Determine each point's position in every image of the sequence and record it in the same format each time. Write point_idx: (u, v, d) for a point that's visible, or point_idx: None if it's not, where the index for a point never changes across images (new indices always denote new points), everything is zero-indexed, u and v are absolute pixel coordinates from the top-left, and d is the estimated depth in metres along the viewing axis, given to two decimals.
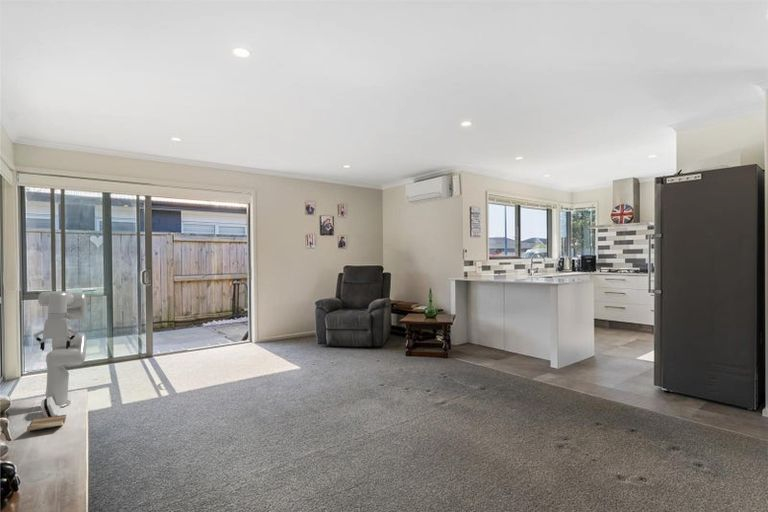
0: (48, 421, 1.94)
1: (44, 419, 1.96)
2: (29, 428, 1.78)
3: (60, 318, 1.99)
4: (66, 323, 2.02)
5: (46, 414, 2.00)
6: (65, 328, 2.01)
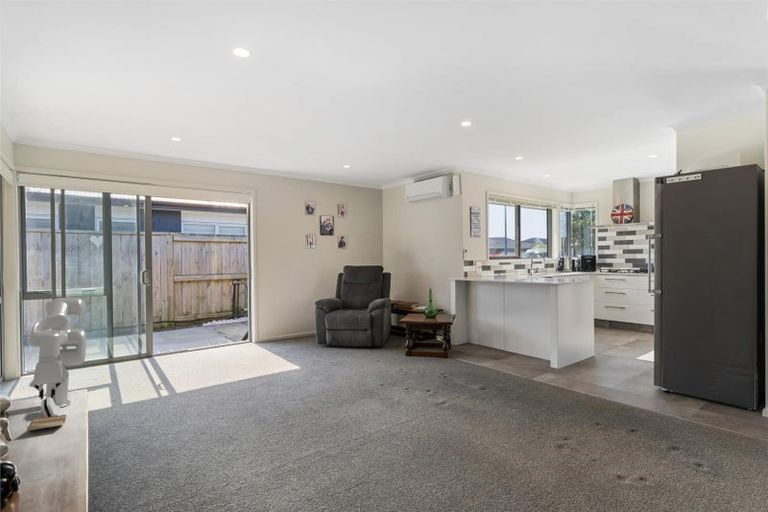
0: (48, 421, 1.94)
1: (44, 419, 1.96)
2: (29, 428, 1.78)
3: (52, 361, 1.83)
4: (59, 366, 1.85)
5: (46, 414, 2.00)
6: (58, 372, 1.85)
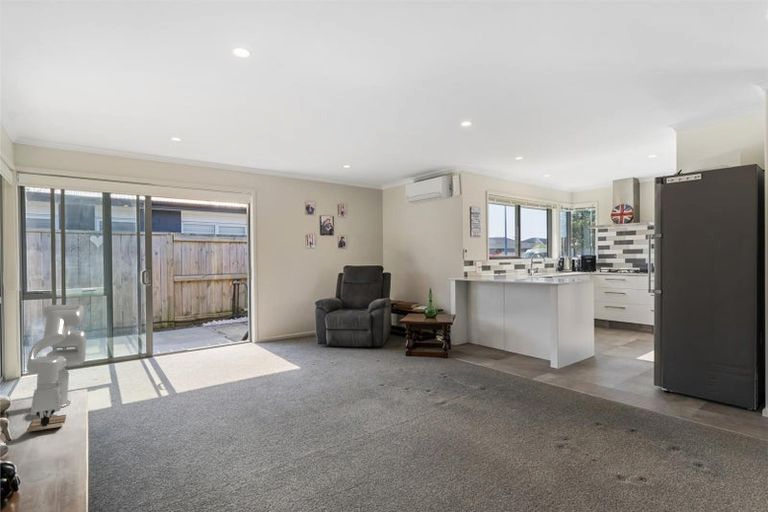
0: None
1: None
2: (29, 430, 1.78)
3: (50, 388, 1.81)
4: (57, 393, 1.83)
5: (46, 414, 2.00)
6: (56, 399, 1.83)
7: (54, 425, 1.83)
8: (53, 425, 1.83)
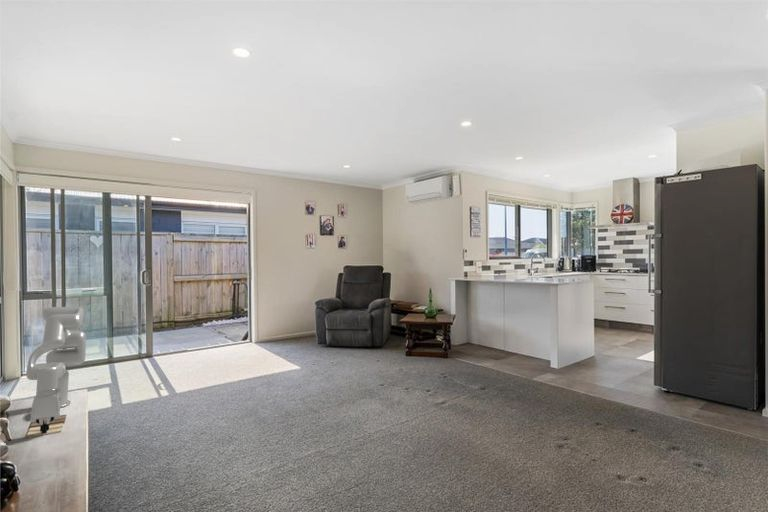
0: None
1: (44, 419, 1.96)
2: (28, 437, 1.78)
3: (50, 395, 1.81)
4: (57, 400, 1.83)
5: None
6: (56, 406, 1.83)
7: (53, 432, 1.83)
8: (52, 432, 1.83)
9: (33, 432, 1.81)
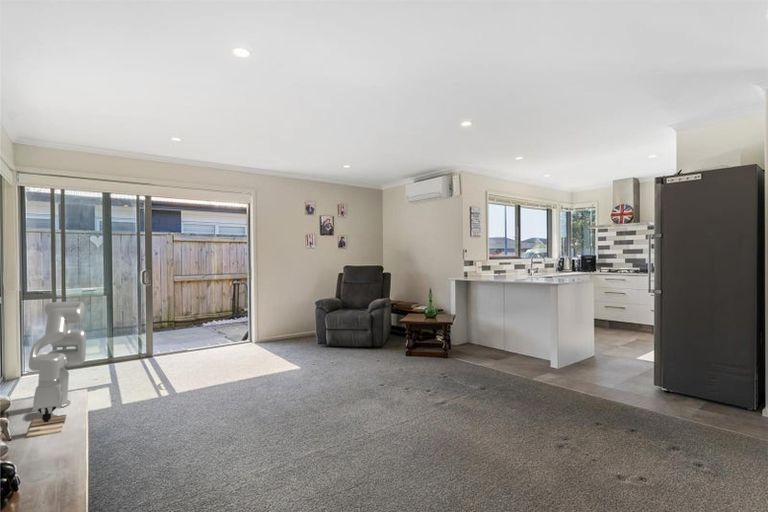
0: None
1: None
2: None
3: (52, 386, 1.85)
4: (58, 390, 1.88)
5: None
6: (57, 396, 1.87)
7: (53, 432, 1.83)
8: (52, 432, 1.83)
9: (33, 432, 1.81)
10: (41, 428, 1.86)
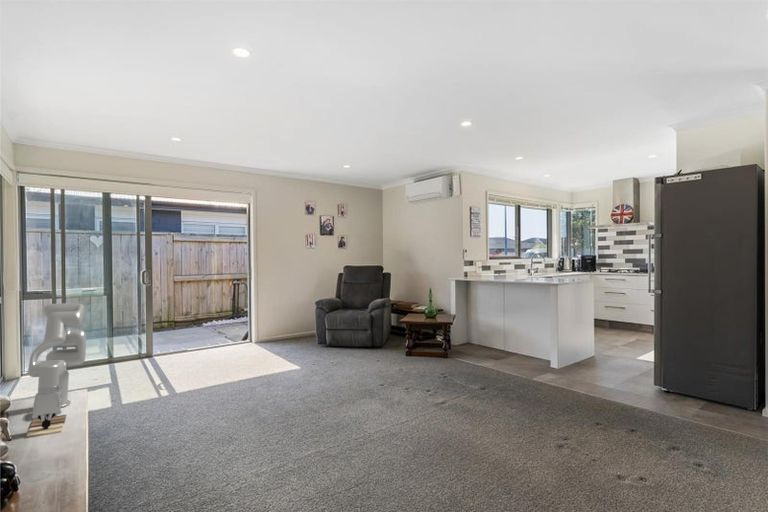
0: None
1: None
2: None
3: (51, 393, 1.85)
4: (58, 397, 1.87)
5: None
6: (57, 402, 1.87)
7: (53, 432, 1.83)
8: (52, 432, 1.83)
9: (33, 432, 1.81)
10: (41, 428, 1.86)
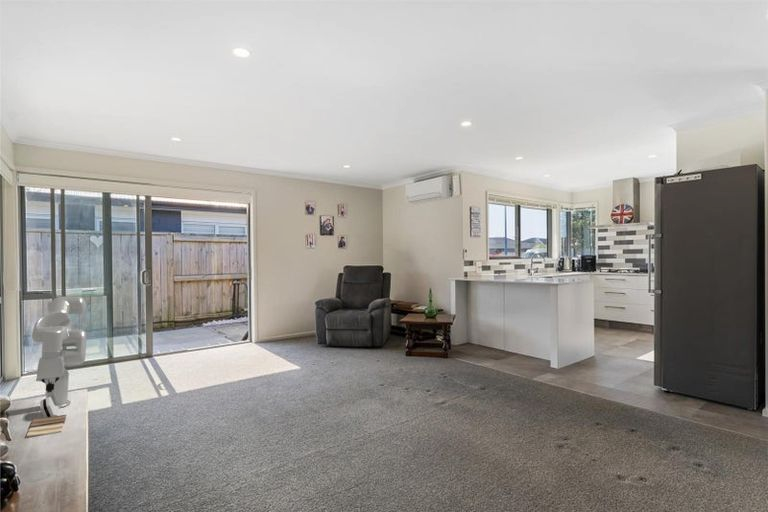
0: (48, 421, 1.94)
1: (44, 419, 1.96)
2: None
3: (55, 357, 1.89)
4: (61, 362, 1.92)
5: (45, 414, 2.00)
6: (60, 367, 1.92)
7: (53, 432, 1.83)
8: (52, 433, 1.83)
9: (33, 432, 1.81)
10: (41, 428, 1.86)
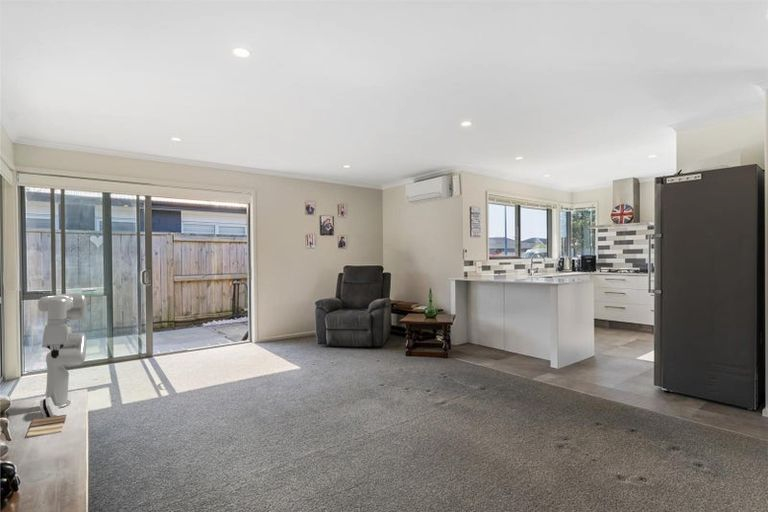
0: (48, 421, 1.94)
1: (44, 419, 1.96)
2: None
3: (60, 324, 1.99)
4: (66, 329, 2.01)
5: (45, 414, 2.00)
6: (65, 334, 2.01)
7: (53, 432, 1.83)
8: (52, 433, 1.83)
9: (33, 432, 1.81)
10: (41, 428, 1.86)
